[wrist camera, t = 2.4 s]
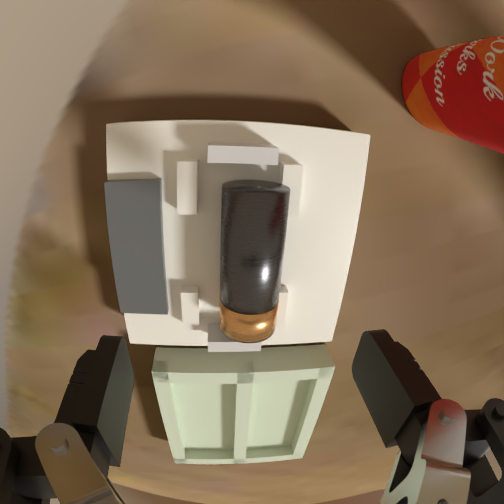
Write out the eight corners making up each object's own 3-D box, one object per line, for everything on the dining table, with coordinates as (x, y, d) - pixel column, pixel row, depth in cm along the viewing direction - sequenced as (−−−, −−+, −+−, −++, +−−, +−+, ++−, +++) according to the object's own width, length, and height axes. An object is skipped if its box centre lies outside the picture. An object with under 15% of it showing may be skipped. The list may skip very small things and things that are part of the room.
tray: (325, 344, 25) (335, 366, 22) (297, 439, 31) (302, 457, 29) (155, 347, 23) (151, 371, 21) (175, 443, 29) (175, 463, 27)
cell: (266, 178, 17) (305, 192, 14) (256, 312, 20) (285, 340, 18) (210, 181, 15) (243, 197, 13) (210, 325, 19) (235, 358, 16)
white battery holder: (352, 131, 18) (385, 138, 14) (321, 320, 24) (339, 357, 20) (120, 122, 16) (93, 125, 12) (136, 321, 22) (124, 361, 18)
